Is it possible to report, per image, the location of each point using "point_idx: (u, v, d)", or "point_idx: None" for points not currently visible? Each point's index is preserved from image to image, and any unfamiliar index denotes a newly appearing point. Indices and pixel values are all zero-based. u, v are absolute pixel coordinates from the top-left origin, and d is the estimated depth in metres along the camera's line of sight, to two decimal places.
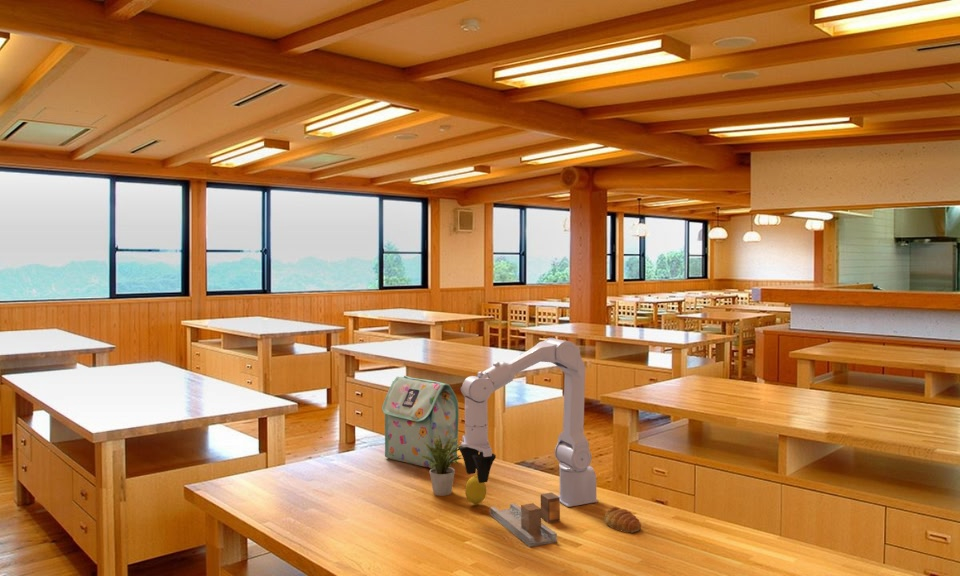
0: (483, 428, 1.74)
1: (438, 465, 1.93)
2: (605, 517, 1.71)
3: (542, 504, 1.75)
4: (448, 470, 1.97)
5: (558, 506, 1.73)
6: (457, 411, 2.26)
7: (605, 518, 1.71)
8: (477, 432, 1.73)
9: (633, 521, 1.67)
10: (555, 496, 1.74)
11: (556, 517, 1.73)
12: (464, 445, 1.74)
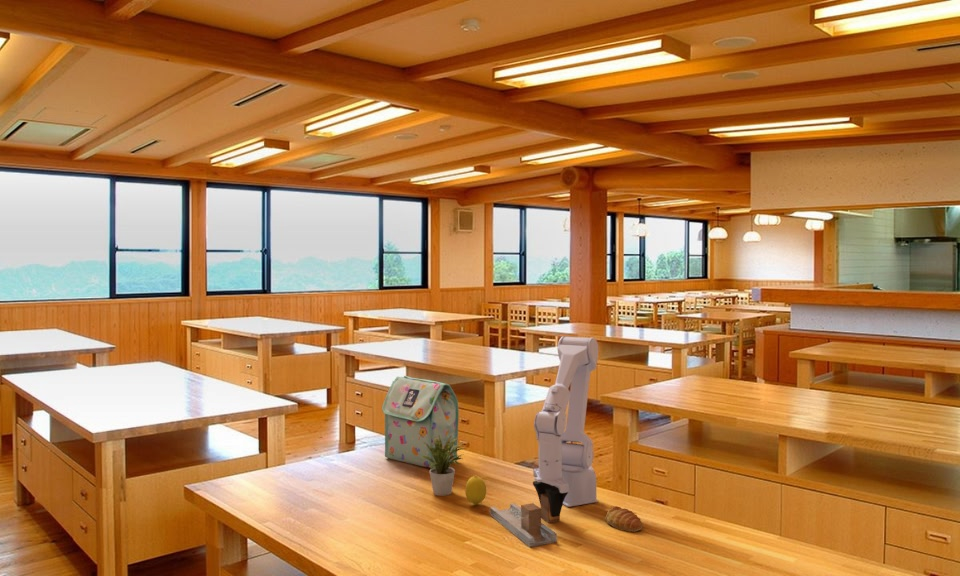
0: (558, 463, 1.72)
1: (438, 465, 1.93)
2: (606, 516, 1.72)
3: (542, 504, 1.75)
4: (448, 470, 1.97)
5: None
6: (457, 411, 2.26)
7: (606, 517, 1.72)
8: (552, 468, 1.71)
9: (635, 520, 1.67)
10: None
11: (556, 517, 1.73)
12: (539, 480, 1.72)
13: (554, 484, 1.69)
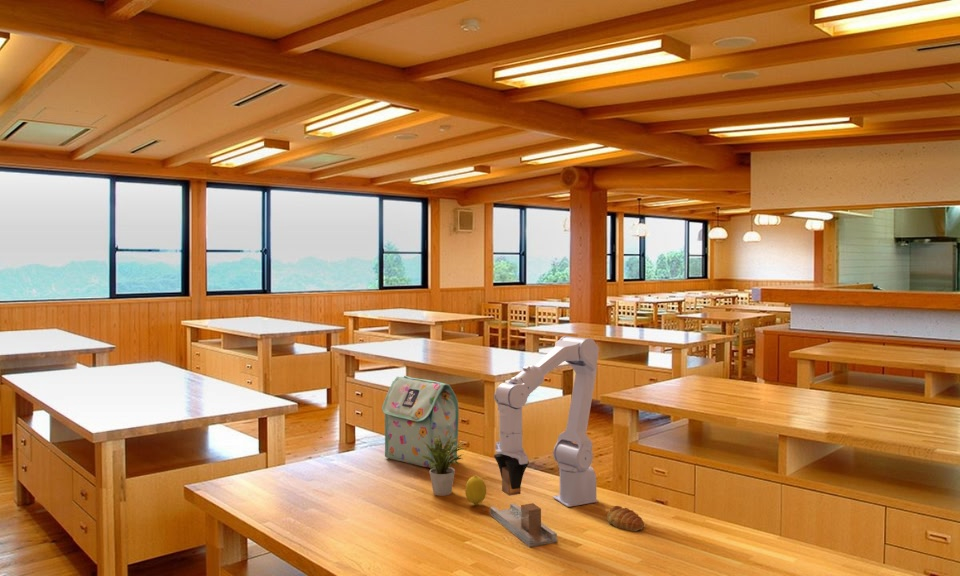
0: (518, 435, 1.72)
1: (438, 465, 1.93)
2: (608, 516, 1.72)
3: (503, 477, 1.75)
4: (448, 470, 1.97)
5: None
6: (457, 411, 2.26)
7: (608, 517, 1.72)
8: (513, 440, 1.71)
9: (636, 519, 1.68)
10: None
11: (516, 489, 1.73)
12: (499, 452, 1.72)
13: (514, 456, 1.69)
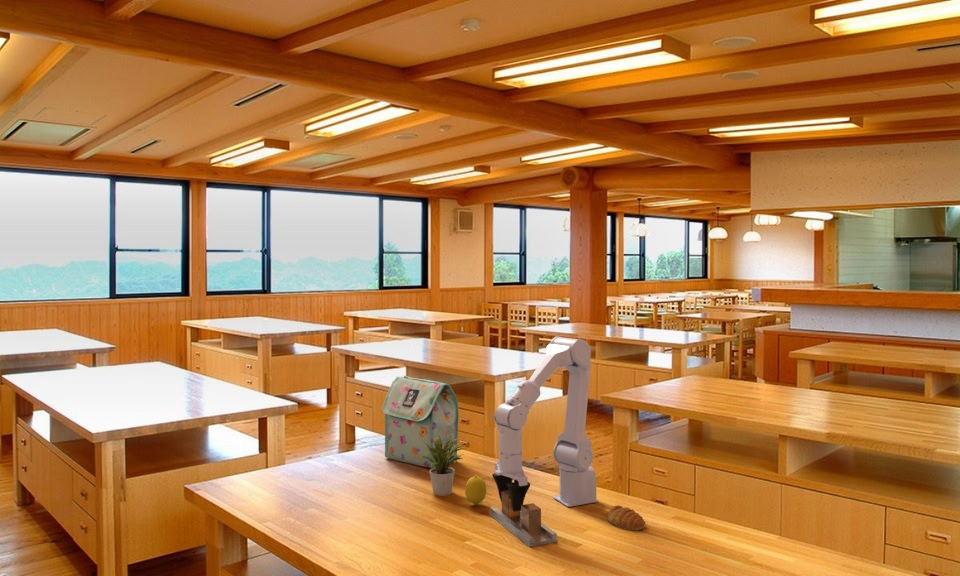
0: (518, 456, 1.72)
1: (438, 465, 1.93)
2: (609, 516, 1.72)
3: (503, 501, 1.75)
4: (448, 470, 1.97)
5: None
6: (457, 411, 2.26)
7: (609, 517, 1.72)
8: (512, 461, 1.71)
9: (637, 519, 1.68)
10: None
11: (516, 514, 1.73)
12: (499, 473, 1.72)
13: (513, 477, 1.69)
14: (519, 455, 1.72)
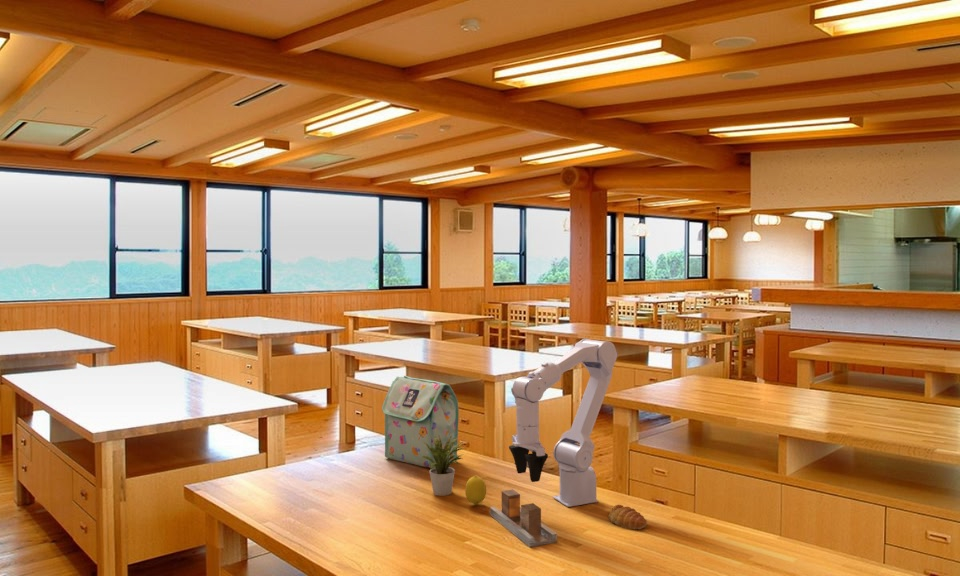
0: (535, 428, 1.76)
1: (438, 465, 1.93)
2: (610, 515, 1.73)
3: (503, 501, 1.75)
4: (448, 470, 1.97)
5: (518, 503, 1.73)
6: (457, 411, 2.26)
7: (610, 516, 1.72)
8: (530, 432, 1.76)
9: (639, 518, 1.69)
10: (515, 493, 1.74)
11: (516, 514, 1.73)
12: (516, 445, 1.76)
13: (531, 448, 1.74)
14: (536, 427, 1.76)
